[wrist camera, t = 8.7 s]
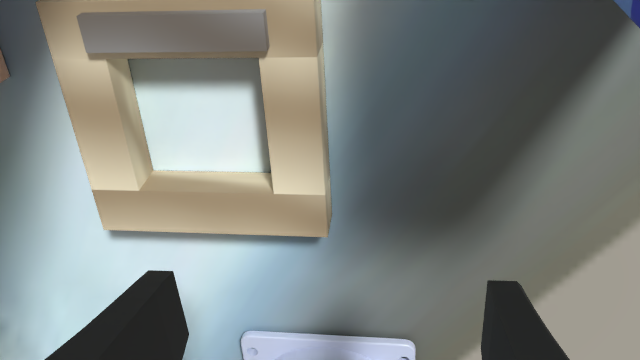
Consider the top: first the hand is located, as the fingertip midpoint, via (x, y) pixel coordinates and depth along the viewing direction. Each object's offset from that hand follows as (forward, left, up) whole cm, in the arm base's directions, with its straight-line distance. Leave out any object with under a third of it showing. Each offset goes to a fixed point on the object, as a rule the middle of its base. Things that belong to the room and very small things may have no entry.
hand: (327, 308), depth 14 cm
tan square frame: (+1, +6, -9) cm, 11 cm away
